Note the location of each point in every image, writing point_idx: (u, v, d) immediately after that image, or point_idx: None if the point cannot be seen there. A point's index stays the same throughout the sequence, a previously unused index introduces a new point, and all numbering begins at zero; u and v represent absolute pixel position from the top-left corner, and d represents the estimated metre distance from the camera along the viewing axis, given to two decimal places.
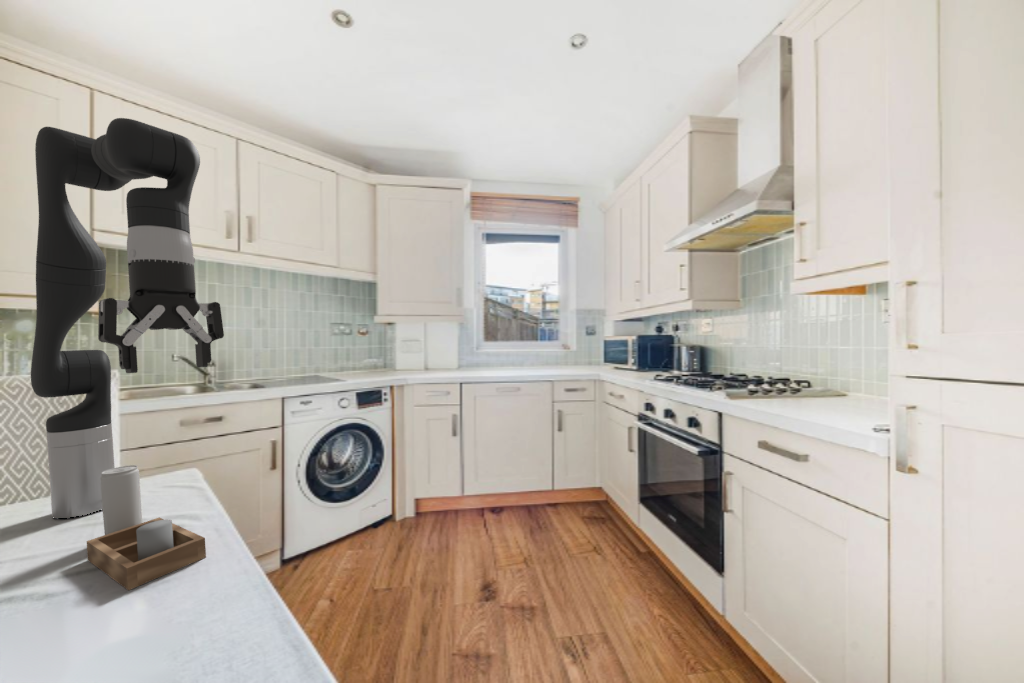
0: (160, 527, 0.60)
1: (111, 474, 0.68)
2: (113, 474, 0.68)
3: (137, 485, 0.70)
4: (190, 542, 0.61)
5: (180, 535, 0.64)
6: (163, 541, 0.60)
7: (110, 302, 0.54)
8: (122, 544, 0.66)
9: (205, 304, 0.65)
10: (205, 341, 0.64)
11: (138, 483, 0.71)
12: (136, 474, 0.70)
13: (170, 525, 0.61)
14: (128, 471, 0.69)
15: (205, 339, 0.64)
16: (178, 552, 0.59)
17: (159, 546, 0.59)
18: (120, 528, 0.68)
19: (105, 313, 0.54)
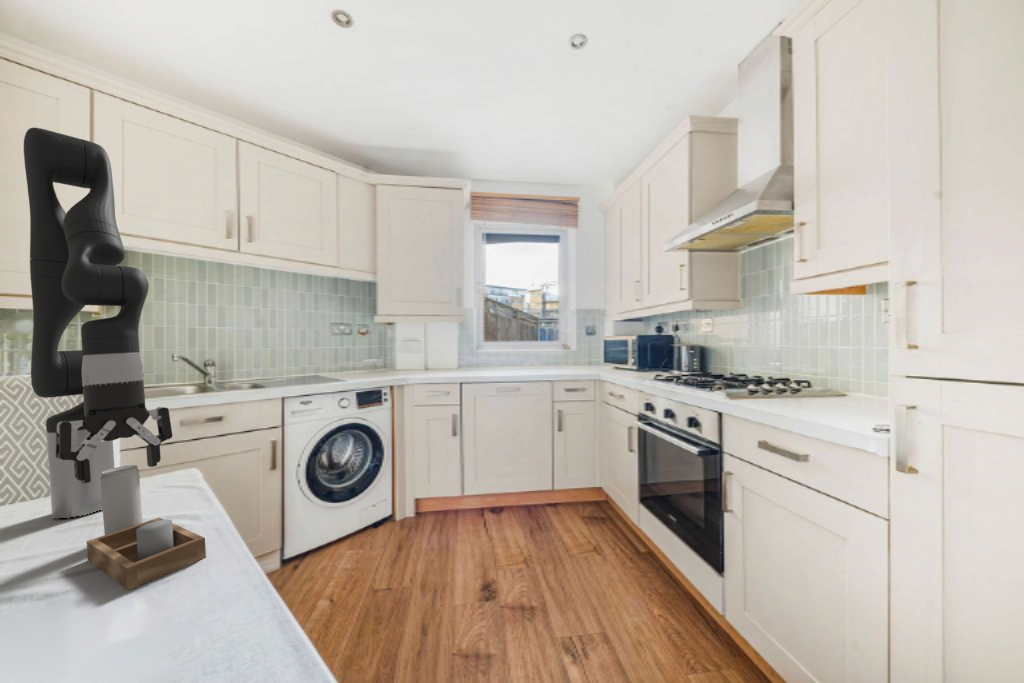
0: (160, 527, 0.60)
1: (111, 474, 0.68)
2: (113, 474, 0.68)
3: (137, 485, 0.70)
4: (190, 542, 0.61)
5: (180, 535, 0.64)
6: (163, 541, 0.60)
7: (65, 425, 0.63)
8: (122, 544, 0.66)
9: (155, 410, 0.74)
10: (154, 444, 0.73)
11: (138, 483, 0.71)
12: (136, 474, 0.70)
13: (170, 525, 0.61)
14: (128, 471, 0.69)
15: (154, 442, 0.73)
16: (178, 552, 0.59)
17: (159, 546, 0.59)
18: (120, 528, 0.68)
19: (60, 436, 0.63)
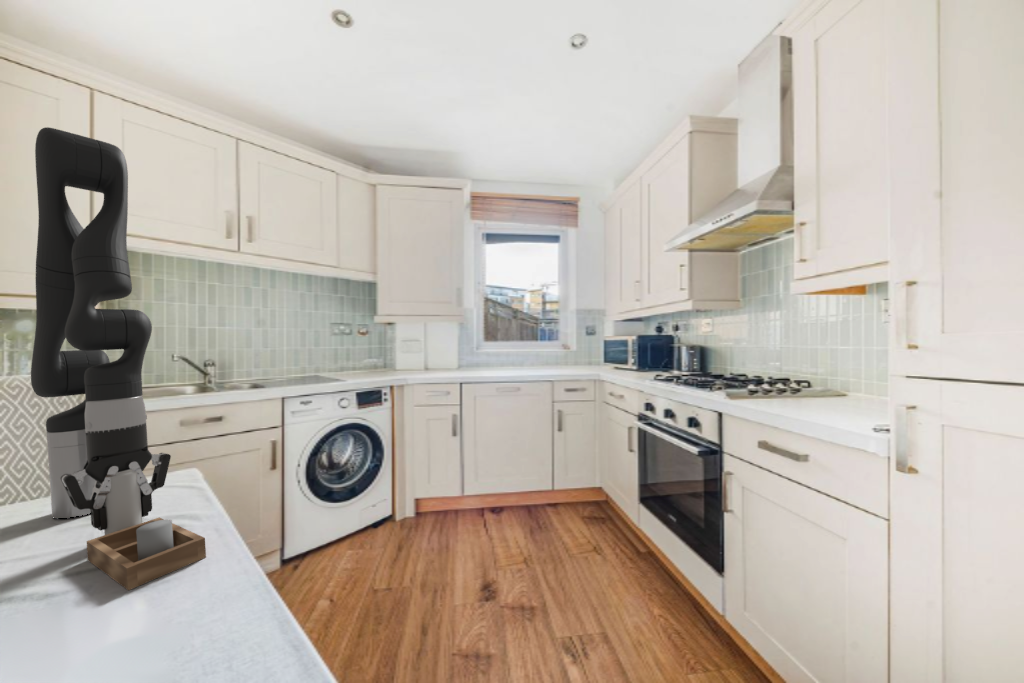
0: (160, 527, 0.60)
1: None
2: None
3: (137, 485, 0.70)
4: (190, 542, 0.61)
5: (180, 535, 0.64)
6: (163, 541, 0.60)
7: (69, 480, 0.64)
8: (122, 544, 0.66)
9: (157, 455, 0.74)
10: (146, 493, 0.72)
11: None
12: (136, 474, 0.70)
13: (170, 525, 0.61)
14: (128, 471, 0.69)
15: (146, 492, 0.72)
16: (178, 552, 0.59)
17: (159, 546, 0.59)
18: (120, 528, 0.68)
19: (69, 490, 0.64)
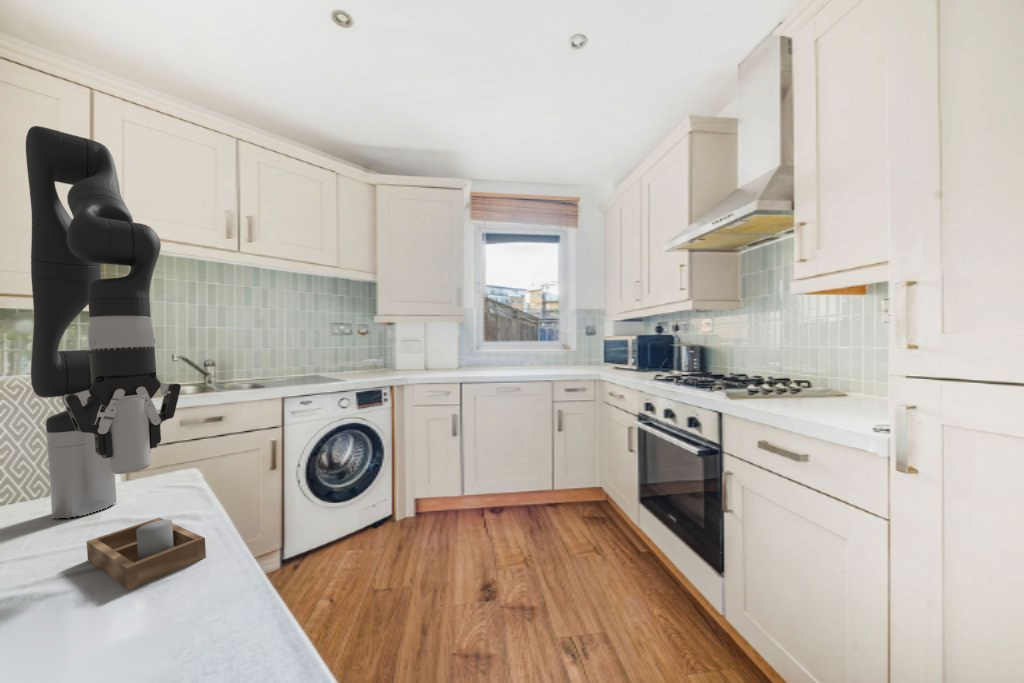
0: (160, 527, 0.60)
1: None
2: None
3: (145, 412, 0.65)
4: (190, 542, 0.61)
5: (180, 535, 0.64)
6: (163, 541, 0.60)
7: (72, 399, 0.58)
8: (122, 544, 0.66)
9: (167, 384, 0.68)
10: (154, 423, 0.66)
11: (146, 411, 0.65)
12: (144, 401, 0.65)
13: (170, 525, 0.61)
14: (135, 396, 0.64)
15: (154, 421, 0.66)
16: (178, 552, 0.59)
17: (159, 546, 0.59)
18: (127, 457, 0.62)
19: (72, 410, 0.58)
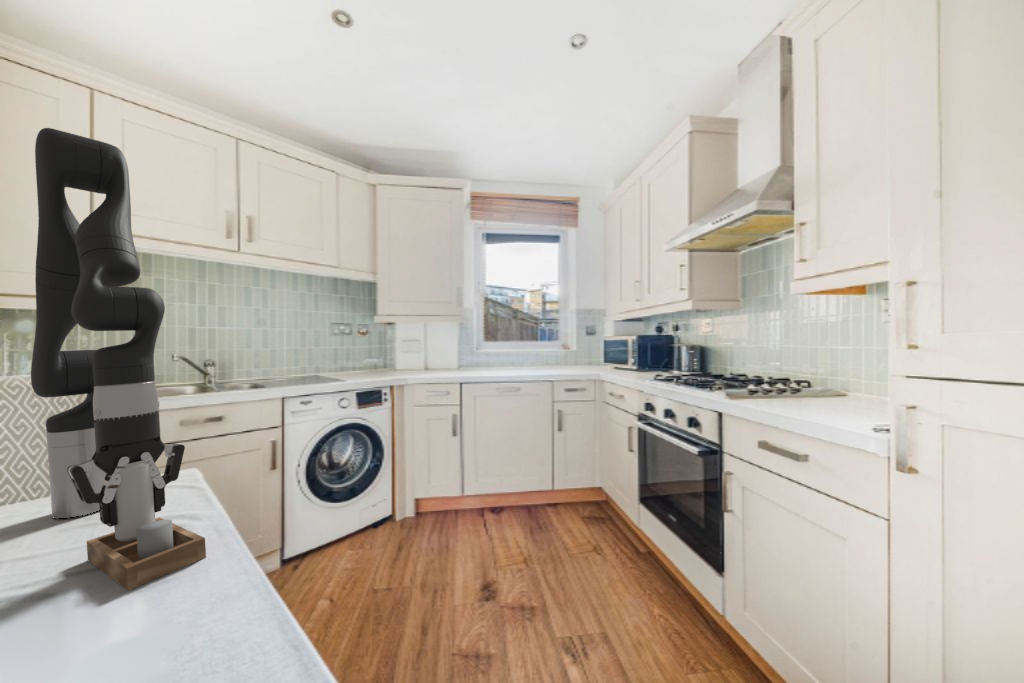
0: (160, 527, 0.60)
1: None
2: None
3: (149, 477, 0.65)
4: (190, 542, 0.61)
5: (180, 535, 0.64)
6: (163, 541, 0.60)
7: (77, 471, 0.58)
8: (122, 544, 0.66)
9: (171, 446, 0.68)
10: (158, 487, 0.66)
11: None
12: (148, 466, 0.65)
13: (170, 525, 0.61)
14: (140, 462, 0.64)
15: (158, 485, 0.66)
16: (178, 552, 0.59)
17: (159, 546, 0.59)
18: (131, 524, 0.62)
19: (77, 482, 0.58)
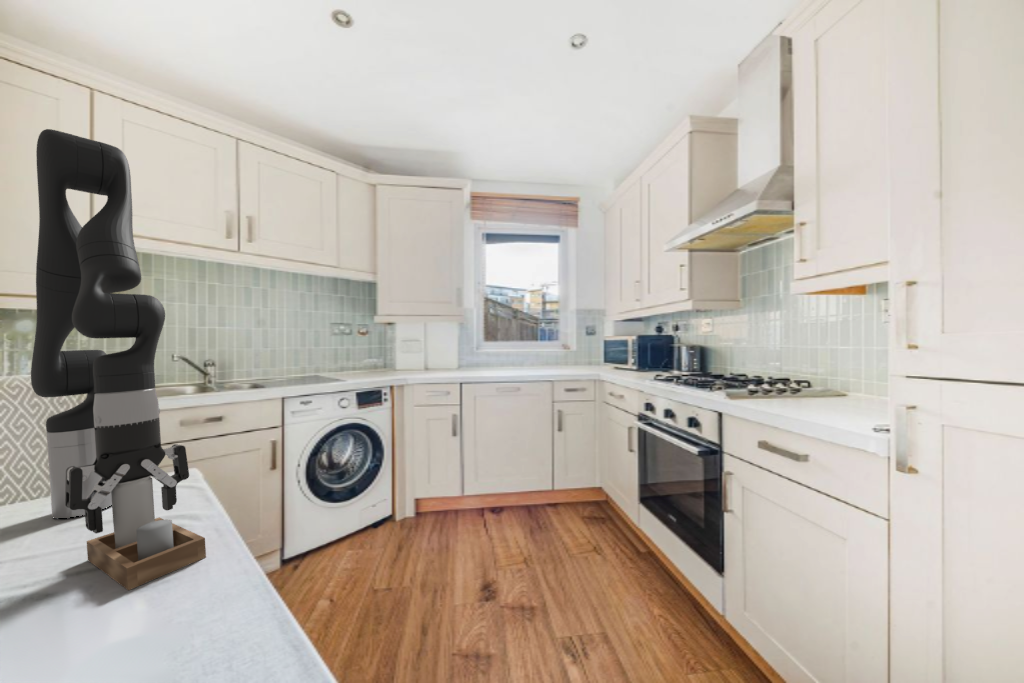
0: (160, 527, 0.60)
1: (123, 483, 0.62)
2: (125, 483, 0.62)
3: (150, 495, 0.65)
4: (190, 542, 0.61)
5: (180, 535, 0.64)
6: (163, 541, 0.60)
7: (76, 472, 0.58)
8: None
9: (171, 449, 0.68)
10: (170, 486, 0.68)
11: (151, 493, 0.65)
12: (149, 483, 0.65)
13: (170, 525, 0.61)
14: (141, 480, 0.64)
15: (170, 484, 0.68)
16: (178, 552, 0.59)
17: (159, 546, 0.59)
18: (132, 542, 0.63)
19: (71, 484, 0.58)
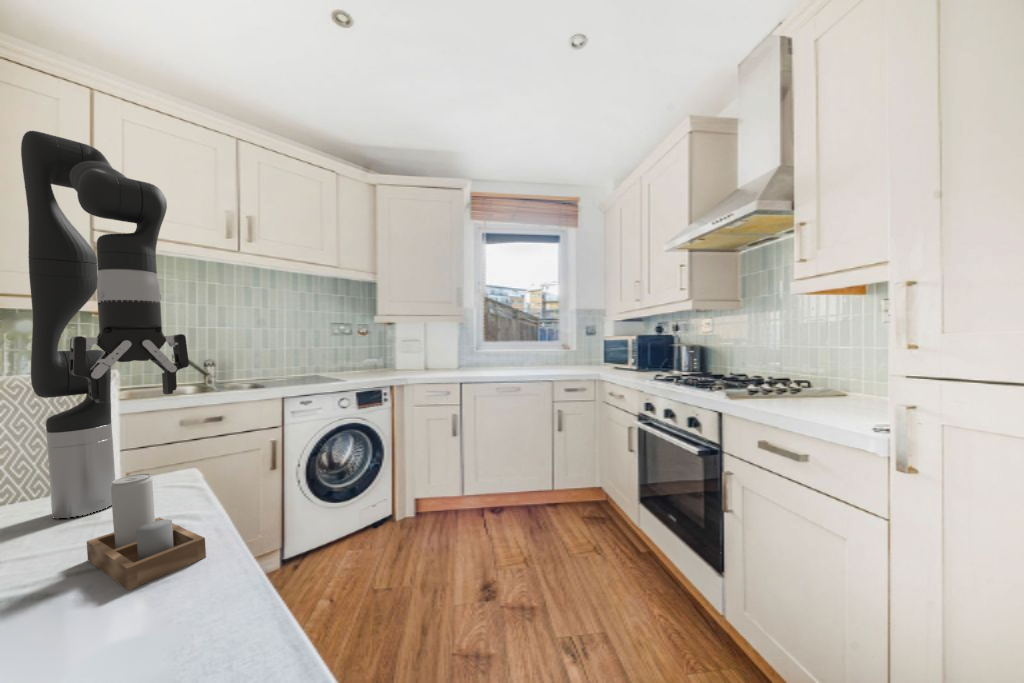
0: (160, 527, 0.60)
1: (123, 484, 0.62)
2: (125, 484, 0.62)
3: (150, 495, 0.65)
4: (190, 542, 0.61)
5: (180, 535, 0.64)
6: (163, 541, 0.60)
7: (79, 340, 0.60)
8: None
9: (171, 336, 0.71)
10: (170, 371, 0.70)
11: (151, 493, 0.65)
12: (149, 483, 0.65)
13: (170, 525, 0.61)
14: (141, 480, 0.64)
15: (170, 369, 0.70)
16: (178, 552, 0.59)
17: (159, 546, 0.59)
18: (132, 542, 0.63)
19: (75, 350, 0.60)
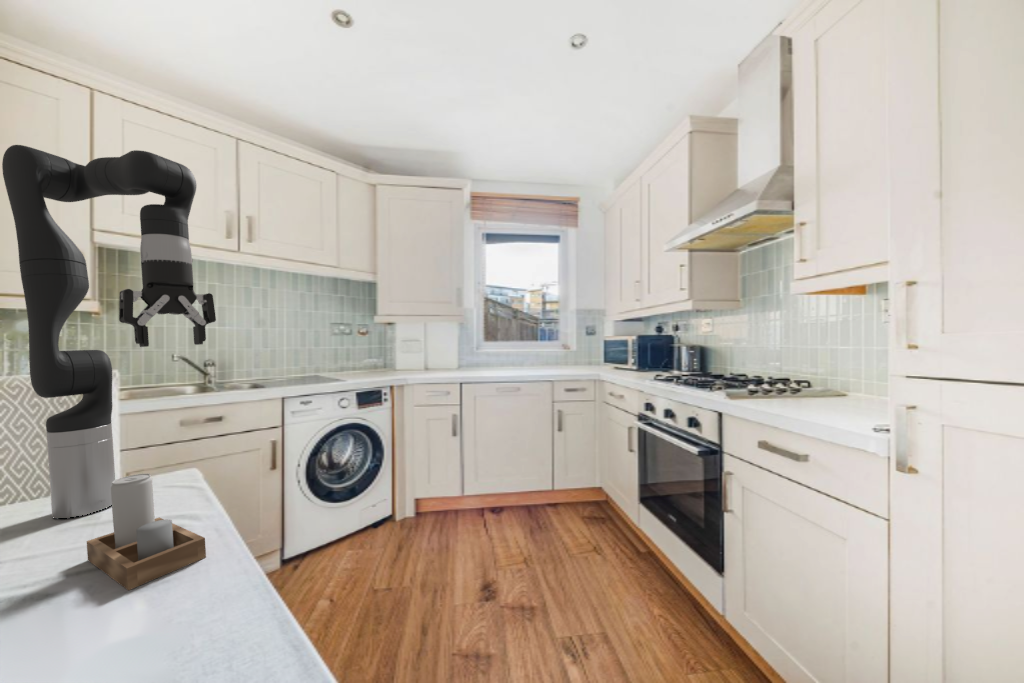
0: (160, 527, 0.60)
1: (123, 484, 0.62)
2: (125, 484, 0.62)
3: (150, 495, 0.65)
4: (190, 542, 0.61)
5: (180, 535, 0.64)
6: (163, 541, 0.60)
7: (128, 292, 0.72)
8: None
9: (201, 295, 0.82)
10: (201, 324, 0.81)
11: (151, 493, 0.65)
12: (149, 483, 0.65)
13: (170, 525, 0.61)
14: (141, 480, 0.64)
15: (201, 322, 0.81)
16: (178, 552, 0.59)
17: (159, 546, 0.59)
18: (132, 542, 0.63)
19: (124, 300, 0.71)
